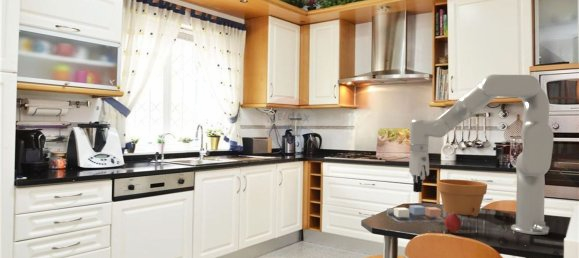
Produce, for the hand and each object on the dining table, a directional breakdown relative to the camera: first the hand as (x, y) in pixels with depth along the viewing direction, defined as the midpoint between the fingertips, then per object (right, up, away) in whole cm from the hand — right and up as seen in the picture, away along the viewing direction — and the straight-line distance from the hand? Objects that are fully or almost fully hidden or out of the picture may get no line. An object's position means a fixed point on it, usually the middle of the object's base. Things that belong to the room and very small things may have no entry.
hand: (417, 191), depth 181 cm
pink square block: (+7, -10, +1) cm, 12 cm away
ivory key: (-7, -10, -1) cm, 12 cm away
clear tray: (0, -12, 0) cm, 12 cm away
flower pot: (+25, -13, +16) cm, 32 cm away
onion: (+8, -13, -19) cm, 24 cm away
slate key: (0, -9, 0) cm, 9 cm away
